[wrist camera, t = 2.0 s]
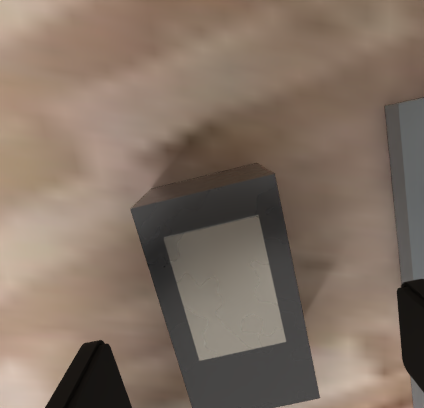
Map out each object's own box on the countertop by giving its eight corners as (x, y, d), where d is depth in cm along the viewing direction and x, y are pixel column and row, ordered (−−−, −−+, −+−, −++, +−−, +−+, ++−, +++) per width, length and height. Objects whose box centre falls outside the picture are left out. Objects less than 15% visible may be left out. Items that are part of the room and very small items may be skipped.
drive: (292, 332, 20) (320, 400, 15) (200, 353, 20) (197, 426, 15) (256, 162, 17) (275, 174, 12) (151, 188, 18) (129, 209, 13)
